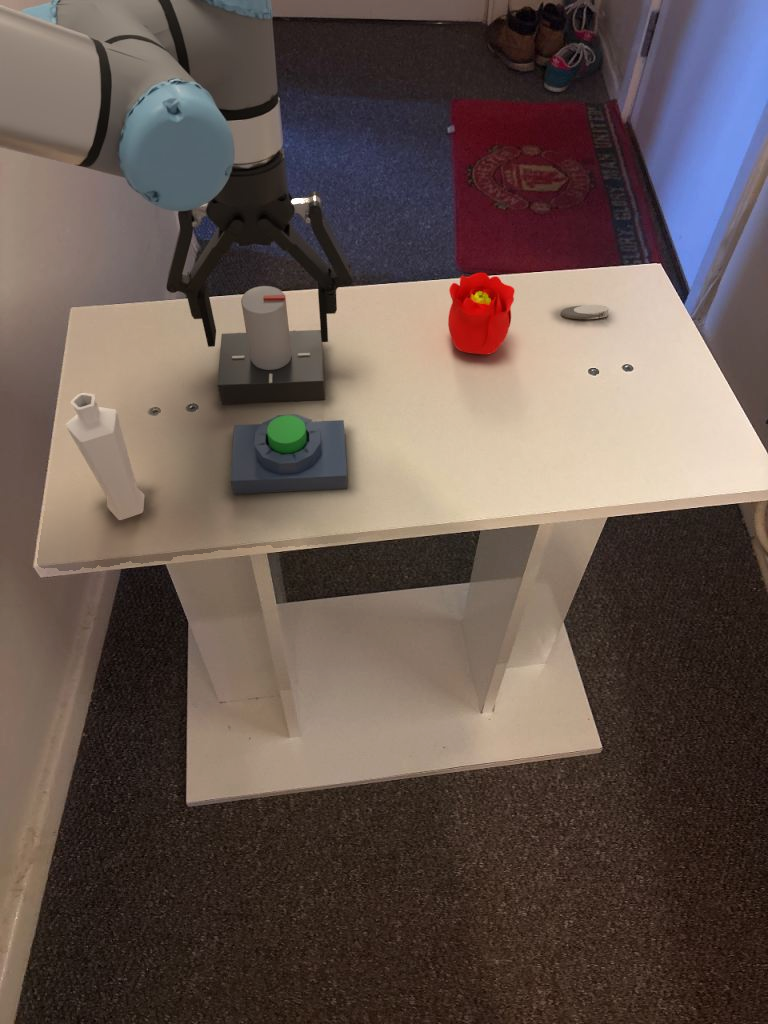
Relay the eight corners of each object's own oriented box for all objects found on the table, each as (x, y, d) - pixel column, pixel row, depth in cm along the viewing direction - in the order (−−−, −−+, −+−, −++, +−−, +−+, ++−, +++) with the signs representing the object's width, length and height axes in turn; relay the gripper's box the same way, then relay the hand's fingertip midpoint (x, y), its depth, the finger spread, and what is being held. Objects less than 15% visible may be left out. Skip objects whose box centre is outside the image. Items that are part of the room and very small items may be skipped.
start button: (268, 455, 78) (266, 444, 76) (269, 427, 80) (267, 415, 79) (307, 453, 78) (305, 442, 77) (306, 425, 80) (305, 414, 79)
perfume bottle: (143, 481, 80) (103, 376, 68) (154, 511, 78) (114, 407, 66) (100, 495, 79) (51, 391, 67) (109, 526, 77) (61, 423, 65)
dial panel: (221, 404, 87) (216, 384, 85) (225, 352, 93) (221, 332, 90) (324, 399, 88) (323, 379, 85) (322, 348, 93) (321, 328, 91)
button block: (233, 494, 79) (227, 469, 76) (236, 438, 84) (231, 413, 81) (347, 488, 80) (346, 463, 77) (344, 433, 85) (343, 408, 82)
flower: (517, 340, 95) (528, 287, 88) (487, 375, 91) (495, 321, 85) (463, 317, 97) (470, 264, 91) (432, 350, 94) (436, 296, 87)
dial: (249, 371, 86) (239, 311, 80) (251, 343, 89) (241, 284, 83) (291, 369, 87) (285, 310, 80) (291, 341, 89) (285, 282, 83)
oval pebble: (560, 322, 98) (561, 315, 97) (559, 310, 99) (560, 303, 98) (608, 321, 97) (610, 314, 96) (606, 309, 98) (607, 302, 98)
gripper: (372, 125, 71) (372, 311, 89) (112, 131, 70) (163, 319, 87) (378, 166, 67) (377, 354, 84) (100, 174, 65) (157, 363, 83)
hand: (268, 336), depth 86 cm, fingers open, 12 cm apart
